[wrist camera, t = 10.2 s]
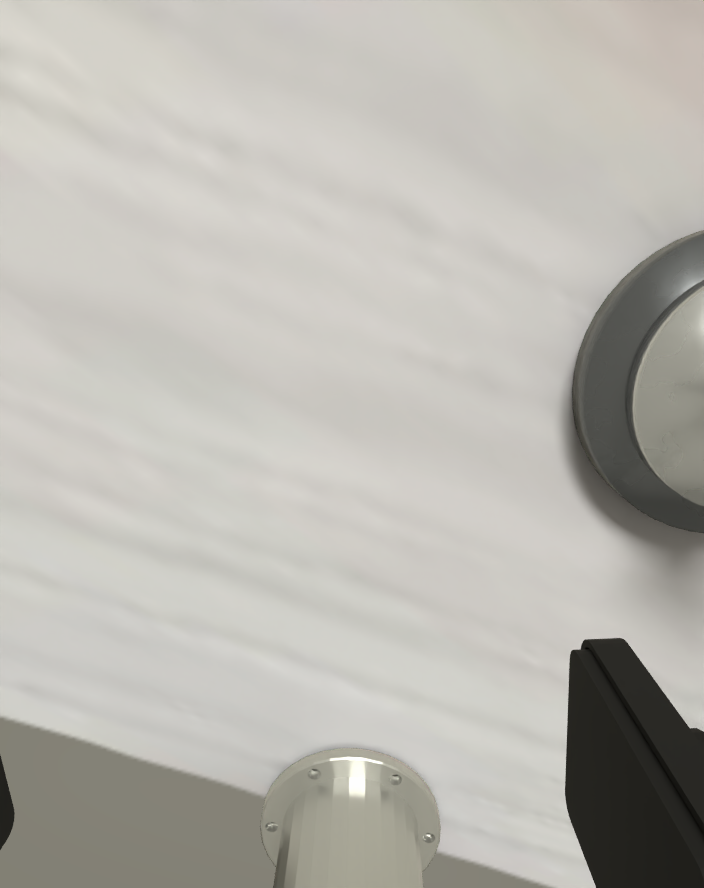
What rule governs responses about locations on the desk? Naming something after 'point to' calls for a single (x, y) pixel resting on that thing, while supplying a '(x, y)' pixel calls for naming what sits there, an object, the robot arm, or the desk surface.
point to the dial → (671, 396)
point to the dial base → (607, 376)
